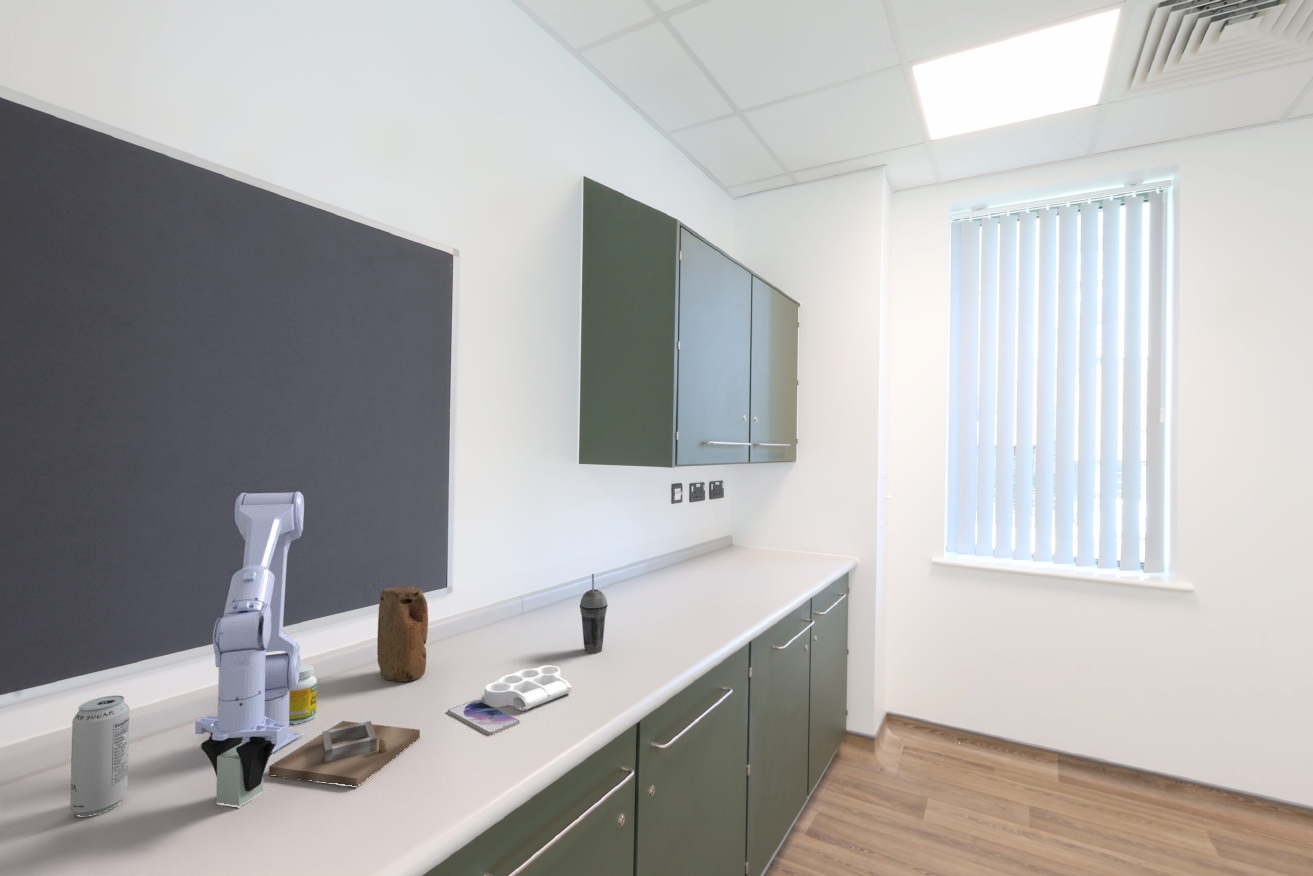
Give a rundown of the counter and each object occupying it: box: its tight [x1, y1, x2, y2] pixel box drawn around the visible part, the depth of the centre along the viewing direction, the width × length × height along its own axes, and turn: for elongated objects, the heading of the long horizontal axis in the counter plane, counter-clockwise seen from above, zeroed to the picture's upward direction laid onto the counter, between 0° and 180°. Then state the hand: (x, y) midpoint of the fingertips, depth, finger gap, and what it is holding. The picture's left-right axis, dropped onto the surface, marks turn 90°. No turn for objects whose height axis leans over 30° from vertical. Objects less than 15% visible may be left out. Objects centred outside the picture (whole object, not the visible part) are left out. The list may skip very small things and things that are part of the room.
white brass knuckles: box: [483, 664, 572, 712], centre depth 125 cm, size 3×18×15 cm
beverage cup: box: [579, 573, 608, 654], centre depth 152 cm, size 7×7×20 cm
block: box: [376, 585, 429, 683], centre depth 135 cm, size 11×8×20 cm
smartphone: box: [446, 699, 521, 736], centre depth 114 cm, size 7×1×15 cm
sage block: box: [215, 743, 264, 806], centre depth 87 cm, size 4×4×7 cm
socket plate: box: [268, 720, 421, 786], centre depth 100 cm, size 16×16×4 cm
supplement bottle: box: [289, 664, 318, 725], centre depth 113 cm, size 5×5×10 cm
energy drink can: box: [69, 695, 130, 816], centre depth 85 cm, size 6×6×15 cm
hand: (240, 785), depth 87 cm, fingers closed on sage block, 4 cm apart
